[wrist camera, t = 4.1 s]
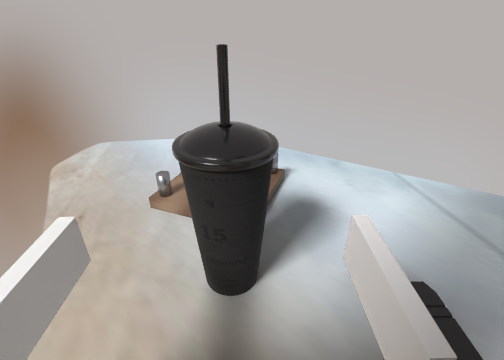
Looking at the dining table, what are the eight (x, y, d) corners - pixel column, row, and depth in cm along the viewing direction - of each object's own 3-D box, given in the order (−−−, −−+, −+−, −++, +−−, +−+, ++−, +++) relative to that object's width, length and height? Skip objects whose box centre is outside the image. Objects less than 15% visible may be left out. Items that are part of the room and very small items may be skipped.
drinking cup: (202, 245, 31) (180, 40, 21) (272, 249, 30) (283, 41, 21) (180, 306, 24) (134, 49, 15) (270, 313, 24) (284, 51, 14)
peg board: (283, 178, 44) (285, 151, 42) (251, 232, 33) (251, 199, 31) (204, 163, 49) (201, 138, 46) (150, 207, 37) (144, 177, 35)
